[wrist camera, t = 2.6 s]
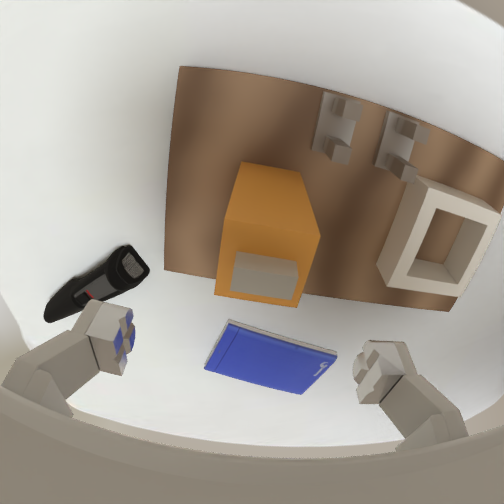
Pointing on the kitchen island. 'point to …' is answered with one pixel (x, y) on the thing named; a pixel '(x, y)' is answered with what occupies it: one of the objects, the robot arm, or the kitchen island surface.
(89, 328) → the robot arm
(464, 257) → the end holder
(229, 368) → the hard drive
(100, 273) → the electric trimmer
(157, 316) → the kitchen island surface
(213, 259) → the board
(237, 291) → the connector plug
